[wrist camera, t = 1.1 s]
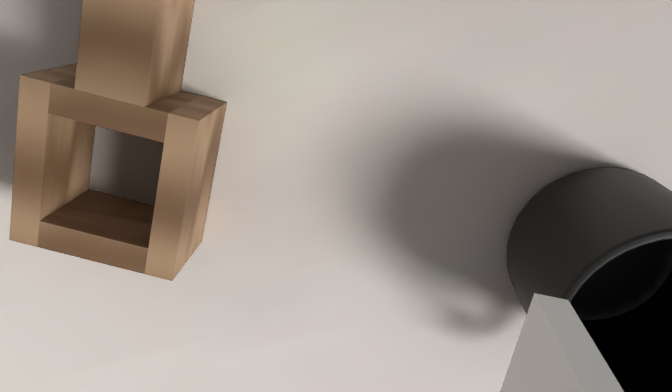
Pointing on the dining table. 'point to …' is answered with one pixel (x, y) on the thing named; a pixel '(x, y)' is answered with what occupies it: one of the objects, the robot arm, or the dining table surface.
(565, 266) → the mug
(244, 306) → the dining table surface
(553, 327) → the robot arm
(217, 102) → the link
